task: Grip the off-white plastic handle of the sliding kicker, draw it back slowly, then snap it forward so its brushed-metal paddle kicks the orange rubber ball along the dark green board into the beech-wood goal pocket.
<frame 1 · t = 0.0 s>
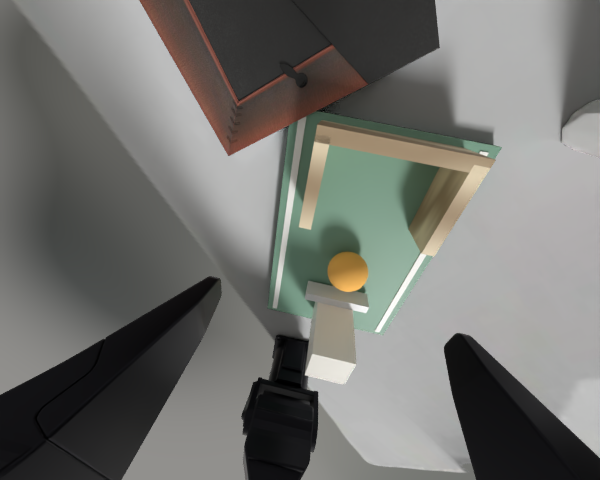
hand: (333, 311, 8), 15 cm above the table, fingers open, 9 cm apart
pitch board: (349, 246, 24), on the table
ball: (347, 271, 22), point 3 cm above the table, touching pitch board
goal: (373, 183, 19), resting on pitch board
milkshake: (579, 129, 16), on the table
kicker: (331, 329, 24), point 5 cm above the table, slide at 2.0 cm
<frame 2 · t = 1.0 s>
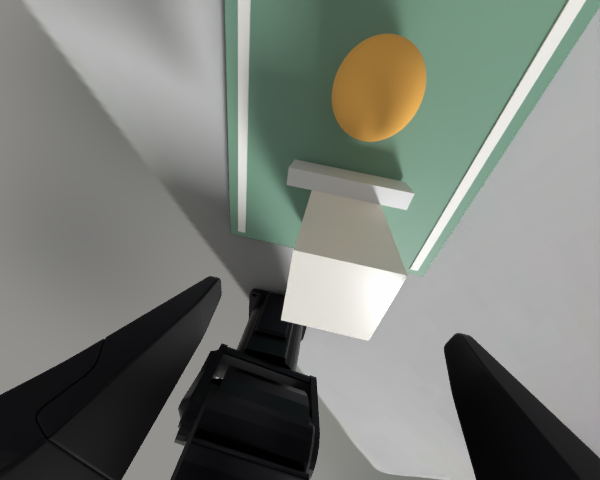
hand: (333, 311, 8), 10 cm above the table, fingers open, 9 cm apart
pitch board: (374, 72, 12), on the table
ball: (375, 93, 10), point 3 cm above the table, touching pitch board
kicker: (339, 237, 12), point 5 cm above the table, slide at 2.0 cm
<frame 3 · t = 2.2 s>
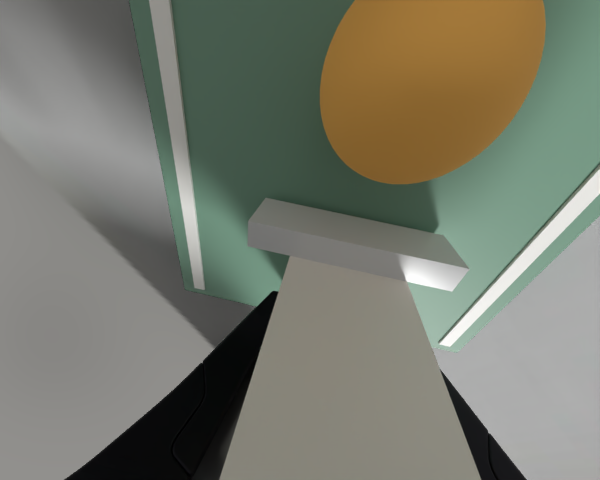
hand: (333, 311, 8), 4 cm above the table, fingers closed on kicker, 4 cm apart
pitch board: (397, 56, 7), on the table
ball: (410, 91, 5), point 3 cm above the table, touching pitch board
kicker: (336, 349, 7), point 5 cm above the table, slide at 2.0 cm, touching gripper
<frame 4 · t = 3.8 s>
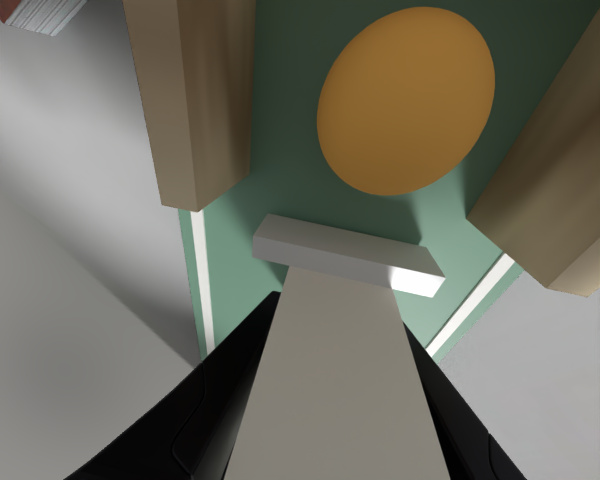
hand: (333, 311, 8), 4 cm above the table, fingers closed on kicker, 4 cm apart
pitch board: (332, 258, 12), on the table
ball: (393, 117, 6), point 3 cm above the table, tilted 155°, touching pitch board
goal: (386, 95, 7), resting on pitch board
kicker: (329, 348, 7), point 5 cm above the table, slide at 9.5 cm, touching gripper
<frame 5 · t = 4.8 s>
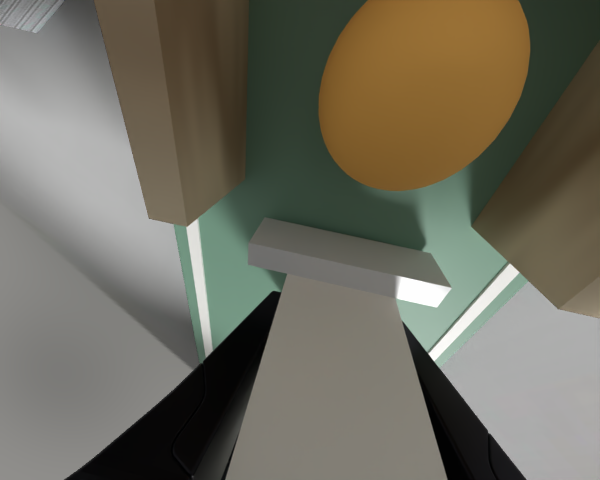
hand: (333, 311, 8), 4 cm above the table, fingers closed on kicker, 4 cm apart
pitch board: (332, 264, 12), on the table
ball: (404, 102, 5), point 3 cm above the table, tilted 137°, touching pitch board
goal: (390, 97, 7), resting on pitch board
kicker: (329, 361, 7), point 5 cm above the table, slide at 9.7 cm, touching gripper
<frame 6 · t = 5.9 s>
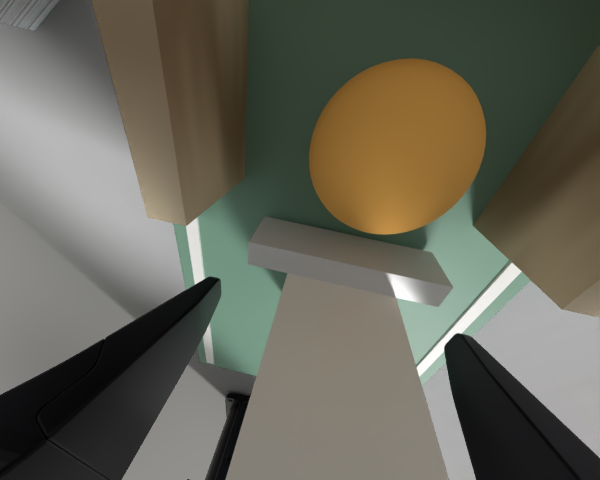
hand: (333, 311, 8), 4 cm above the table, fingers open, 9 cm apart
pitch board: (332, 263, 12), on the table
ball: (385, 157, 6), point 3 cm above the table, tilted 174°, touching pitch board
goal: (391, 94, 7), resting on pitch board
kicker: (329, 361, 7), point 5 cm above the table, slide at 9.7 cm
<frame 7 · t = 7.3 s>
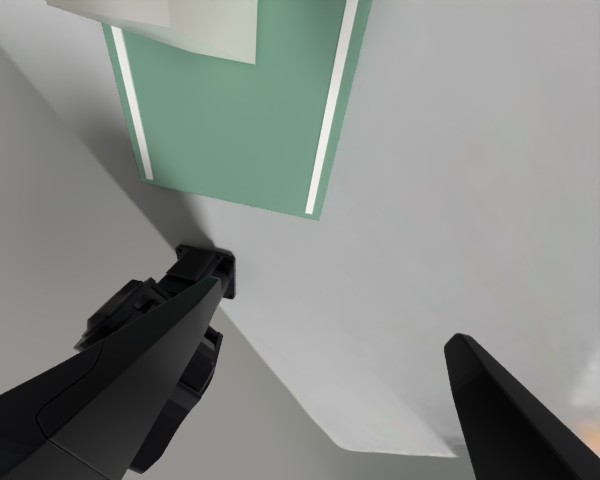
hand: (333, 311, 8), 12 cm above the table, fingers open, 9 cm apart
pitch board: (231, 12, 13), on the table
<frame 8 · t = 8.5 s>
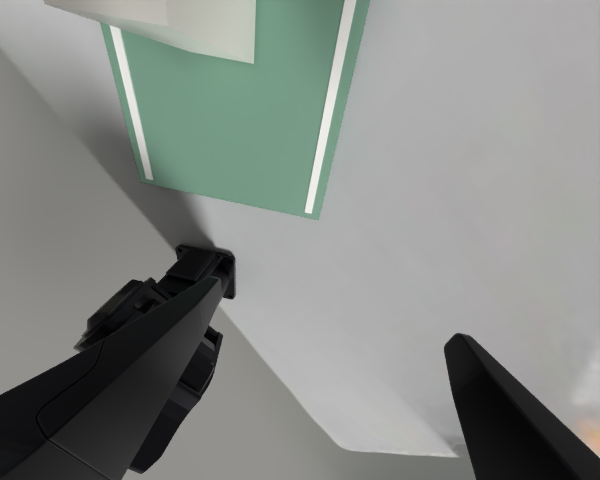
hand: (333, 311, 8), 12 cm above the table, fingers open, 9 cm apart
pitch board: (230, 11, 13), on the table
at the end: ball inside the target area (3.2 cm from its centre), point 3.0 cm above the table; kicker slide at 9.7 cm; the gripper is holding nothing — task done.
